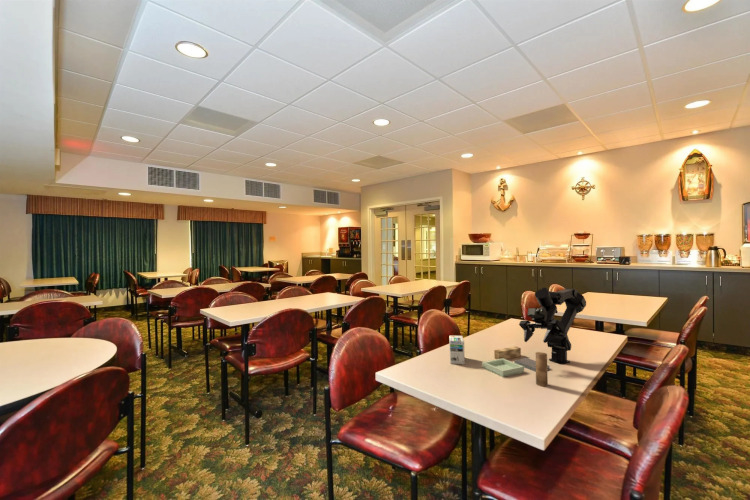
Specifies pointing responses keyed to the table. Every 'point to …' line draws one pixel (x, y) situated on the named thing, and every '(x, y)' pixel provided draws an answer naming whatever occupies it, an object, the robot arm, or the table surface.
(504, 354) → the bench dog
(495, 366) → the tray
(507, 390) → the table surface
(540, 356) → the walnut dowel
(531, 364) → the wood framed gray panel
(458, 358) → the light bulb box
